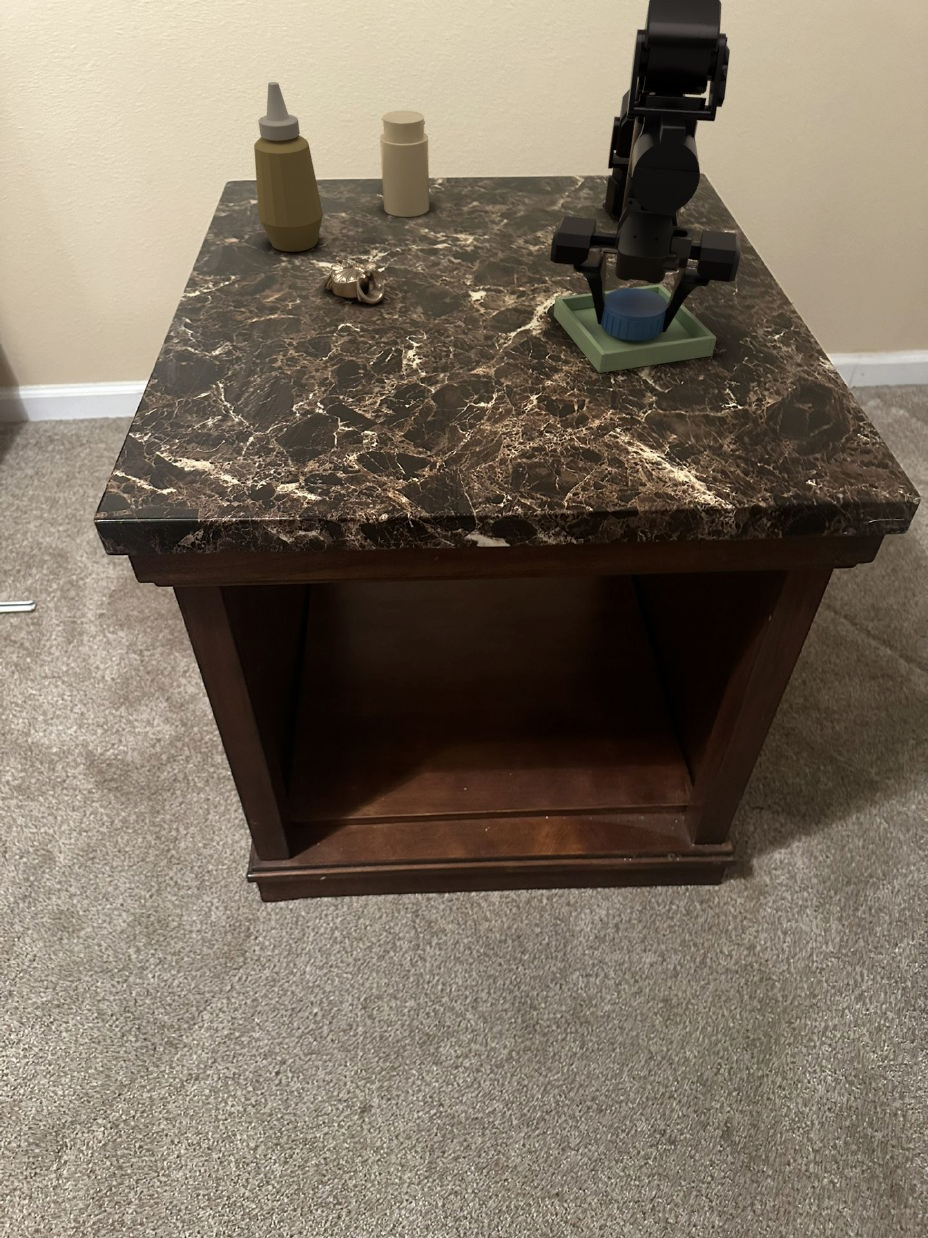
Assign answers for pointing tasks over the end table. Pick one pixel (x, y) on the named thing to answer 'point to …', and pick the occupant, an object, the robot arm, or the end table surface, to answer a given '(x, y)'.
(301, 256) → the end table surface
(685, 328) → the tray
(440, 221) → the end table surface
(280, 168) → the squeeze bottle
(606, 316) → the lid
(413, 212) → the jar
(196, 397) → the end table surface
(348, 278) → the ornament
